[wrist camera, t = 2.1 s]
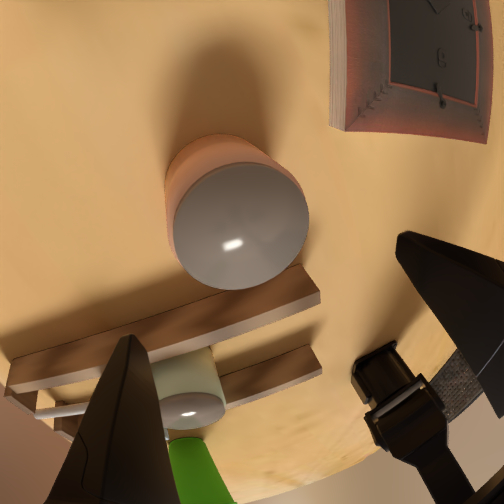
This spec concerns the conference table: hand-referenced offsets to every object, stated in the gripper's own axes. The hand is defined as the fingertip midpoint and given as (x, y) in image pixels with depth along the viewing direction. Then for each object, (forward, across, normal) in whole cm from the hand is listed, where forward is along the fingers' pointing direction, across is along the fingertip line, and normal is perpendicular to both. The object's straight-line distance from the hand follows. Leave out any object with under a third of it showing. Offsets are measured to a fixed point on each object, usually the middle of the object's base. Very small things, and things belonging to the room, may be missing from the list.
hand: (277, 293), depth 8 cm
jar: (+9, 0, 0) cm, 9 cm away
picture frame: (+10, -17, -11) cm, 22 cm away
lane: (+9, +10, +13) cm, 18 cm away
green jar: (+9, +7, +13) cm, 17 cm away
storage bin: (+9, -47, +65) cm, 81 cm away
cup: (+9, +15, +33) cm, 37 cm away
